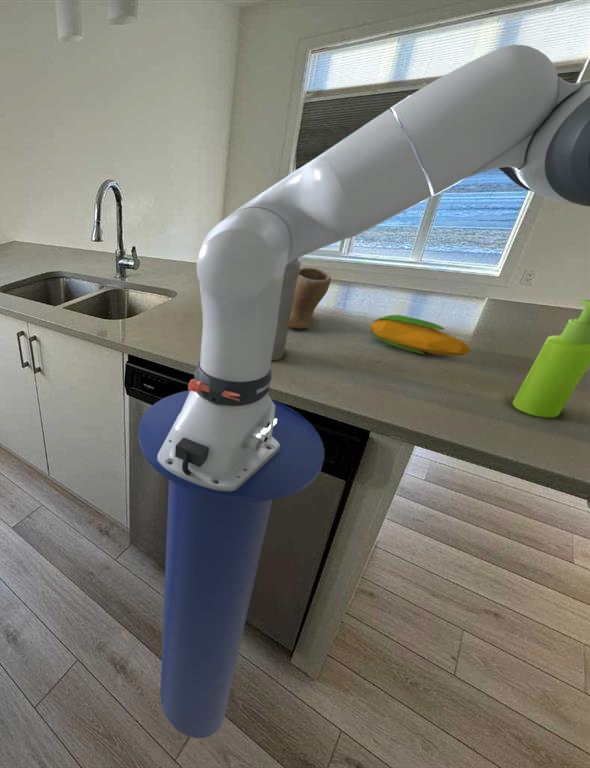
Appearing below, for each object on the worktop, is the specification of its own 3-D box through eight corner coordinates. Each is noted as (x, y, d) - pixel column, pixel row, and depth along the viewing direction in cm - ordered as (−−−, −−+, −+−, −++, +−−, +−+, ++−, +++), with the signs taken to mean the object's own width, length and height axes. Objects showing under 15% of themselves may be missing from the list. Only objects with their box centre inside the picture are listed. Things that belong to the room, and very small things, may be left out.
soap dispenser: (527, 418, 70) (590, 310, 60) (505, 398, 76) (559, 295, 66) (571, 422, 69) (643, 311, 59) (545, 401, 74) (607, 296, 64)
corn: (386, 304, 100) (488, 328, 85) (378, 332, 104) (474, 359, 89) (367, 313, 98) (469, 339, 82) (360, 341, 102) (456, 371, 86)
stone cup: (318, 334, 106) (331, 278, 99) (269, 328, 112) (278, 275, 104) (322, 315, 117) (334, 263, 110) (278, 310, 123) (286, 261, 115)
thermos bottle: (241, 351, 102) (256, 235, 88) (265, 343, 104) (284, 230, 90) (265, 363, 95) (285, 240, 81) (290, 355, 97) (315, 234, 84)
